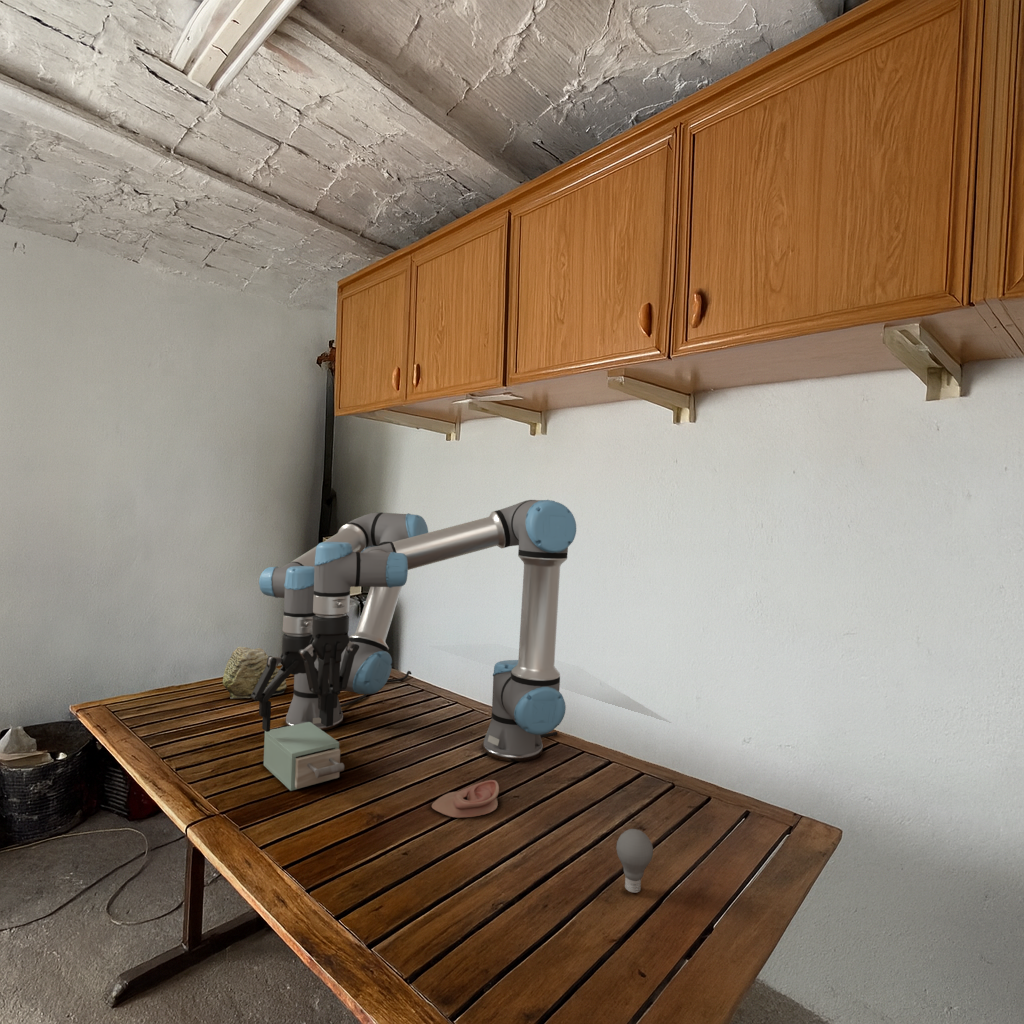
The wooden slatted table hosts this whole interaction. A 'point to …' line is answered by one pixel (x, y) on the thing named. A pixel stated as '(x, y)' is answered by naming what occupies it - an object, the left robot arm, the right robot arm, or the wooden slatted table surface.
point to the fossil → (247, 672)
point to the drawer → (317, 767)
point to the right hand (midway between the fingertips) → (326, 724)
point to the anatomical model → (469, 800)
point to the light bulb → (634, 857)
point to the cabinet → (293, 749)
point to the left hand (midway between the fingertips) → (295, 724)
